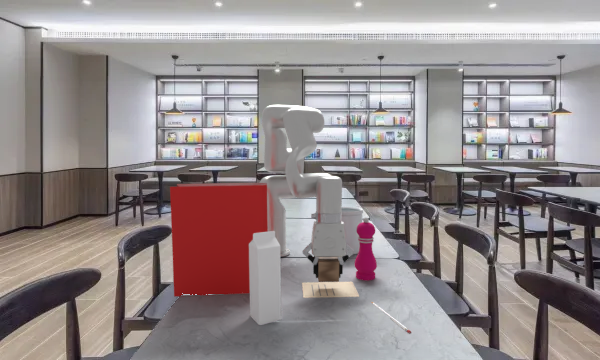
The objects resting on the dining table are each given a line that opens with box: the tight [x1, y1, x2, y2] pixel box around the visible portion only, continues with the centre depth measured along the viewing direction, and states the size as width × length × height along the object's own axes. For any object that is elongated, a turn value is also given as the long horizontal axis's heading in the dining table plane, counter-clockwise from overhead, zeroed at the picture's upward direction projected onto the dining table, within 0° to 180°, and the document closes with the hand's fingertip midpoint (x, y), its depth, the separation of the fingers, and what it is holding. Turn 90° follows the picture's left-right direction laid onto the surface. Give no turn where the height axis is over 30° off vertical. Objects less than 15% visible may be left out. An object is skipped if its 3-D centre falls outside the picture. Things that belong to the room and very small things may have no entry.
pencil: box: [370, 301, 412, 334], centre depth 95 cm, size 1×19×1 cm, turn 18°
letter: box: [301, 281, 360, 299], centre depth 113 cm, size 16×12×1 cm
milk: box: [249, 231, 282, 326], centre depth 94 cm, size 6×6×22 cm
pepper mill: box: [354, 217, 378, 282], centre depth 122 cm, size 7×7×20 cm
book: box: [169, 182, 268, 297], centre depth 113 cm, size 27×8×32 cm, turn 95°
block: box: [317, 257, 340, 282], centre depth 113 cm, size 6×6×6 cm
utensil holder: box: [341, 206, 364, 255], centre depth 155 cm, size 15×15×18 cm
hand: (327, 275), depth 113 cm, fingers closed on block, 6 cm apart
